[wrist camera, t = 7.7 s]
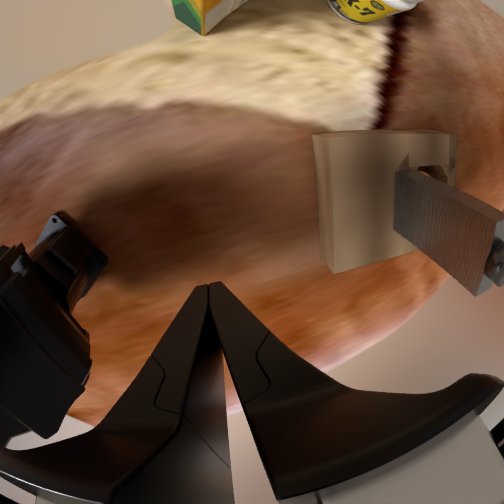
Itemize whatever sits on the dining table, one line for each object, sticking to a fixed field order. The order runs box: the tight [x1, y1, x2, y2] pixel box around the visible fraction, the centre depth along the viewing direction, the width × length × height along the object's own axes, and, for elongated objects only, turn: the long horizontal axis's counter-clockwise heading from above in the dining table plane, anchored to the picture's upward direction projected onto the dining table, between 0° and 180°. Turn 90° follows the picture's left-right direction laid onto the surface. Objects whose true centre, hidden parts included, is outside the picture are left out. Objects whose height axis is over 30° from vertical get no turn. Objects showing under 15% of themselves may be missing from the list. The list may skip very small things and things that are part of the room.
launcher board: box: [312, 129, 457, 274], centre depth 21 cm, size 14×11×3 cm
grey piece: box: [393, 170, 504, 297], centre depth 15 cm, size 2×5×11 cm, turn 9°
